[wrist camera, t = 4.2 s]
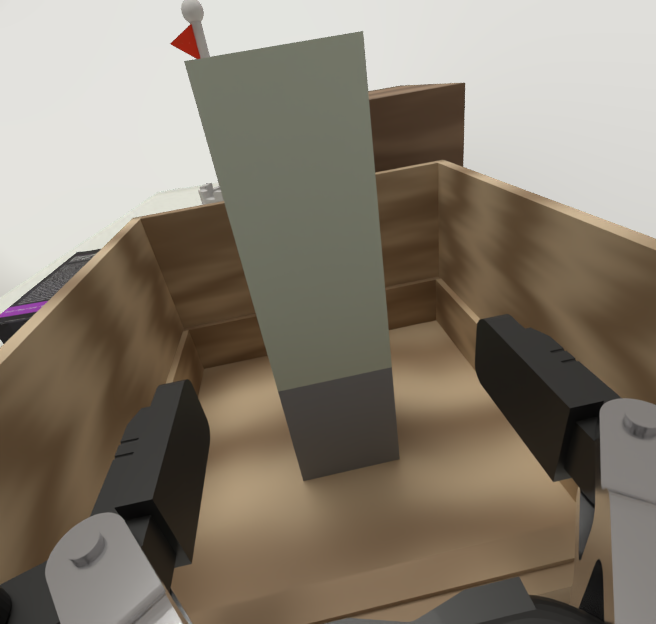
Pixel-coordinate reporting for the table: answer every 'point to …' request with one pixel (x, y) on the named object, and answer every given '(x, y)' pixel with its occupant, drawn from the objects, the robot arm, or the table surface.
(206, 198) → the flag stand
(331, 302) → the box
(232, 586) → the wooden open bin
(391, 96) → the riser
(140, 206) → the table surface
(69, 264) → the box
